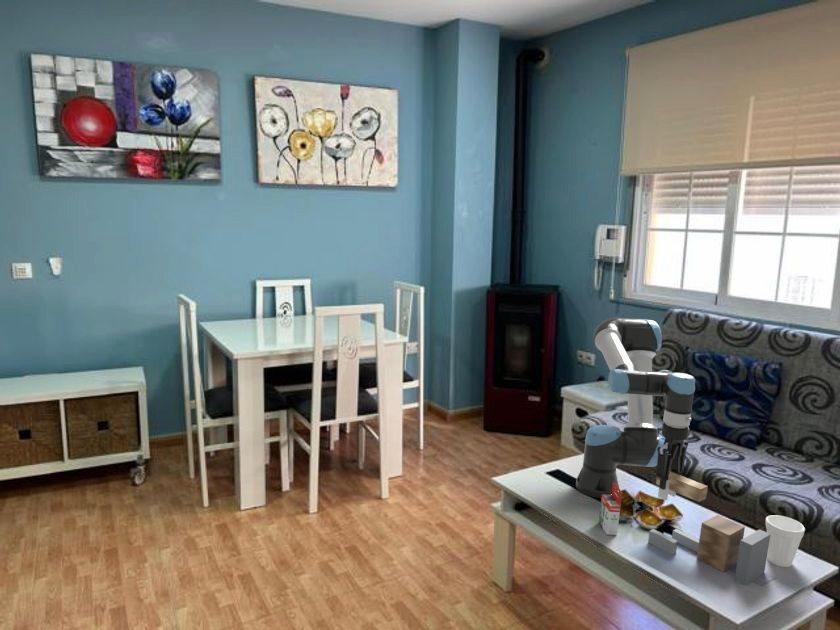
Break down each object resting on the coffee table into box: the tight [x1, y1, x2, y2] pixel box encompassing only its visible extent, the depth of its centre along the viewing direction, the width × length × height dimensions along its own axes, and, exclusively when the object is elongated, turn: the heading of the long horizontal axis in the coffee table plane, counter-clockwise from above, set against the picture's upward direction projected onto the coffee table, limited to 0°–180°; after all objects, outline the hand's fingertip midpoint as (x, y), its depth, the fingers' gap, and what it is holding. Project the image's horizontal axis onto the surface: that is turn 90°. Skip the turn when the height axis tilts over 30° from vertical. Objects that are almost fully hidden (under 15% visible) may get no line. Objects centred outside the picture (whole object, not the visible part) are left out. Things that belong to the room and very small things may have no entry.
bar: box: [655, 470, 709, 503], centre depth 185 cm, size 14×4×4 cm, turn 37°
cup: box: [765, 514, 806, 568], centre depth 178 cm, size 10×10×13 cm
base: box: [671, 528, 771, 586], centre depth 178 cm, size 26×11×13 cm, turn 37°
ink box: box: [598, 481, 623, 536], centre depth 193 cm, size 4×8×15 cm, turn 2°
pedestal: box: [647, 528, 679, 556], centre depth 183 cm, size 8×2×5 cm, turn 37°
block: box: [696, 514, 746, 573], centre depth 176 cm, size 8×9×11 cm
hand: (666, 496), depth 189 cm, fingers closed on bar, 4 cm apart
